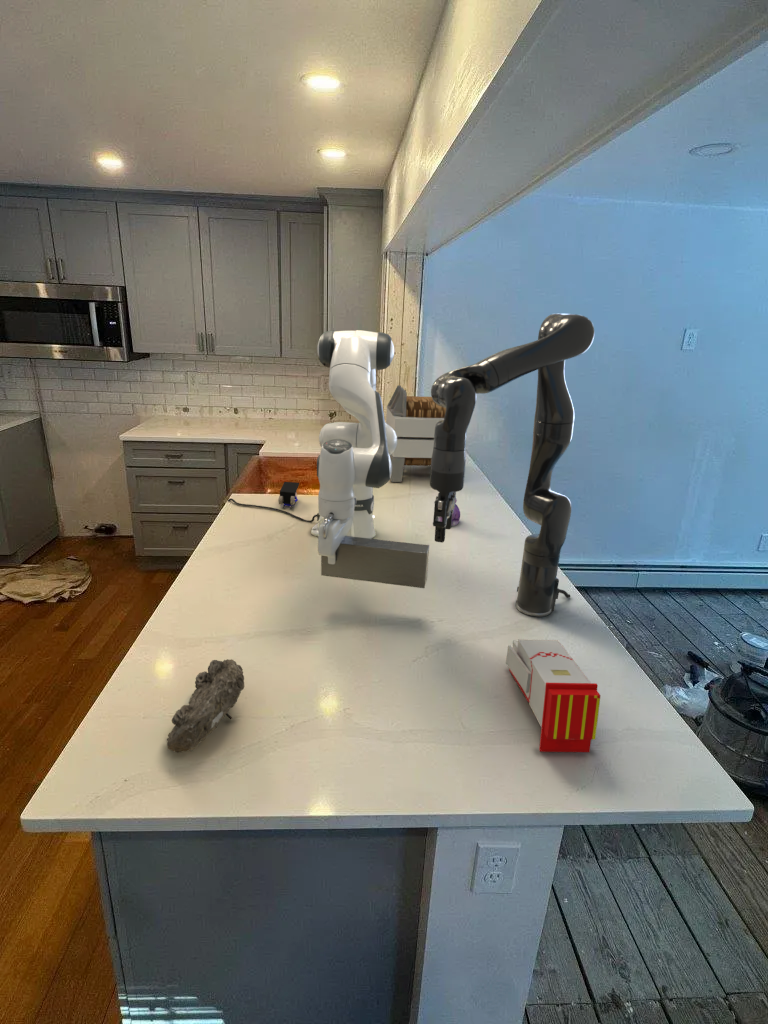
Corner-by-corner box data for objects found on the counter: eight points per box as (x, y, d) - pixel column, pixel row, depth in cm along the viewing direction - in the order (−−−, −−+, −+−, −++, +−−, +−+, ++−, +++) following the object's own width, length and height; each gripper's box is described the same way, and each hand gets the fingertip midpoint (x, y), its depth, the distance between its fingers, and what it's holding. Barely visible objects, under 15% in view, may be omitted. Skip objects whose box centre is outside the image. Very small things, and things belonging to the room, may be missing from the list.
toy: (554, 622, 128) (610, 691, 98) (548, 677, 130) (601, 759, 101) (501, 621, 127) (541, 690, 98) (496, 676, 130) (534, 758, 101)
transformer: (382, 463, 289) (386, 382, 275) (445, 464, 293) (451, 384, 279) (390, 482, 257) (394, 392, 243) (460, 483, 261) (468, 394, 247)
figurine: (445, 529, 206) (449, 489, 200) (430, 519, 214) (433, 481, 209) (467, 525, 210) (470, 487, 205) (451, 516, 218) (454, 479, 213)
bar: (321, 575, 144) (321, 541, 141) (326, 567, 149) (326, 533, 145) (424, 588, 140) (427, 553, 136) (426, 579, 144) (429, 545, 141)
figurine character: (295, 514, 218) (300, 497, 231) (295, 496, 214) (299, 480, 228) (278, 513, 217) (283, 497, 231) (277, 495, 214) (283, 480, 227)
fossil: (192, 660, 117) (244, 628, 112) (224, 691, 120) (276, 661, 115) (142, 746, 98) (202, 712, 93) (182, 779, 101) (242, 748, 96)
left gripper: (337, 523, 129) (336, 577, 134) (358, 495, 148) (356, 543, 153) (311, 520, 130) (311, 574, 135) (334, 492, 149) (334, 541, 154)
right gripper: (459, 477, 119) (453, 548, 124) (469, 461, 131) (463, 526, 137) (424, 474, 120) (420, 544, 126) (437, 458, 133) (433, 522, 139)
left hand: (335, 557), depth 144 cm, fingers closed on bar, 5 cm apart
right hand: (443, 534), depth 132 cm, fingers open, 8 cm apart
